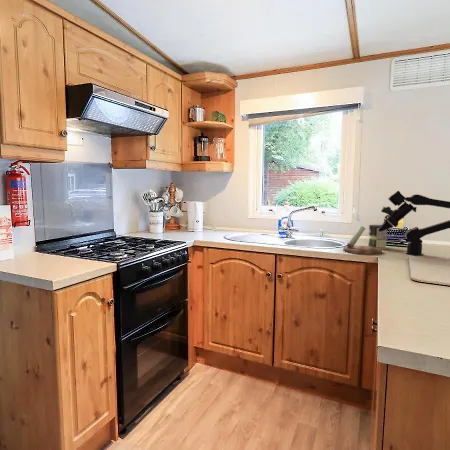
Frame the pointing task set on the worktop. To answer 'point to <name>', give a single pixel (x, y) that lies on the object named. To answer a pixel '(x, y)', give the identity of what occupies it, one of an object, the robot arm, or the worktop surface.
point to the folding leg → (357, 235)
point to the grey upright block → (377, 237)
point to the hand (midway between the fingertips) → (379, 230)
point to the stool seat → (362, 250)
